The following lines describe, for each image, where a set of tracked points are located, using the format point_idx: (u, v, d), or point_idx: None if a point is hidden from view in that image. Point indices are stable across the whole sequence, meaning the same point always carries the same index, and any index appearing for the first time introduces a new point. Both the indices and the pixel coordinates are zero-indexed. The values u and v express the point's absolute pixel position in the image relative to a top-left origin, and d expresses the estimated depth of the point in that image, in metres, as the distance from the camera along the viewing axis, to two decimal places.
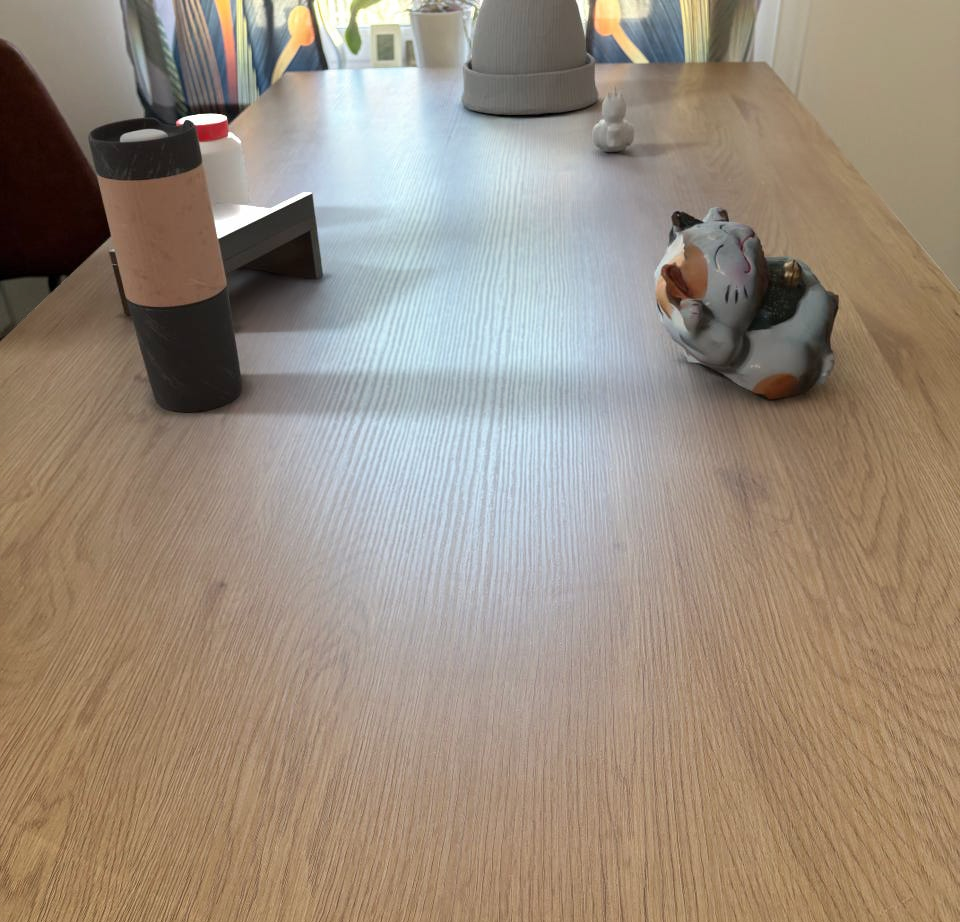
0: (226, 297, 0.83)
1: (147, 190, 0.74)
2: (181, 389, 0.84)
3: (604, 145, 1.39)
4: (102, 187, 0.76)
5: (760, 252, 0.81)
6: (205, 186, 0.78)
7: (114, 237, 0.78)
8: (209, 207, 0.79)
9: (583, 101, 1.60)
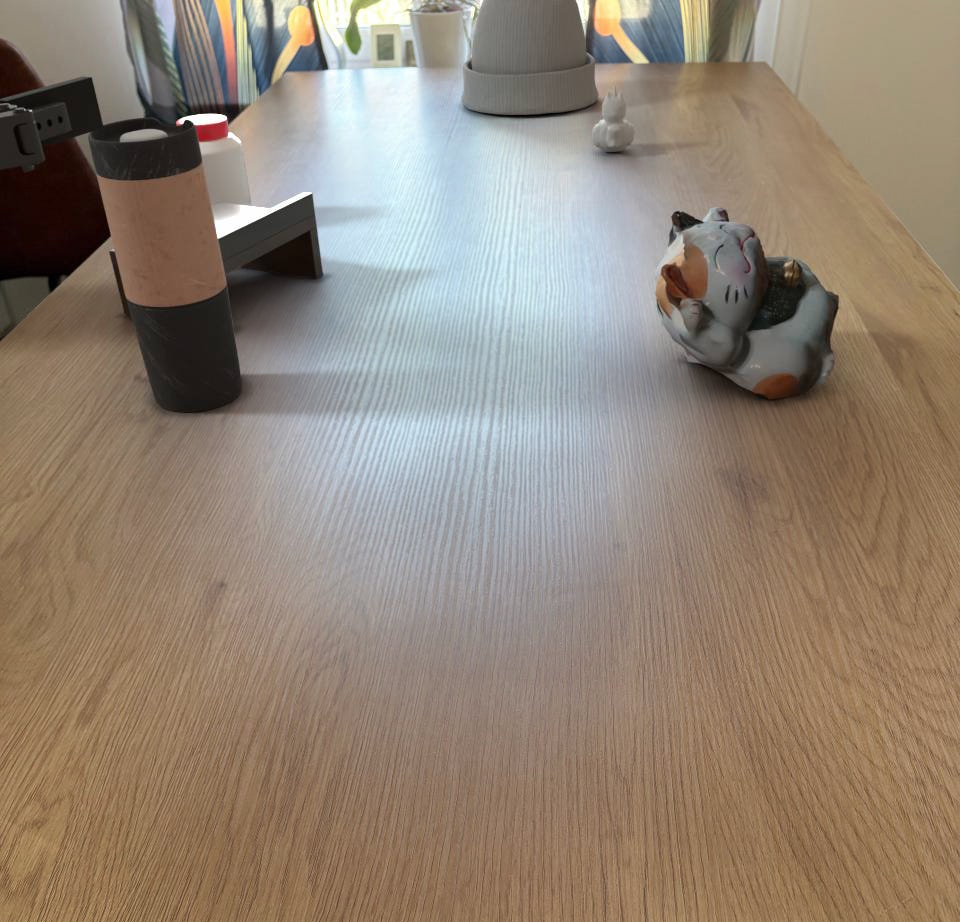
0: (226, 297, 0.83)
1: (147, 190, 0.74)
2: (181, 389, 0.84)
3: (604, 145, 1.39)
4: (102, 187, 0.76)
5: (760, 252, 0.81)
6: (205, 186, 0.78)
7: (114, 237, 0.78)
8: (209, 207, 0.79)
9: (583, 101, 1.60)
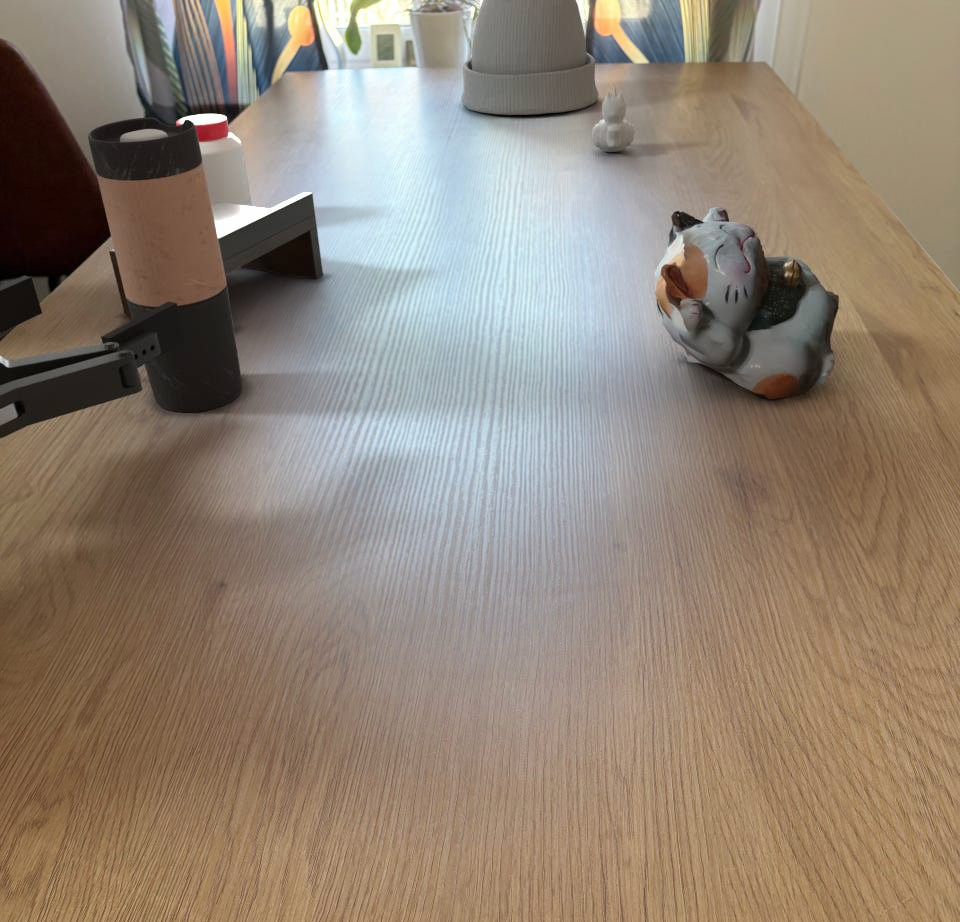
0: (226, 297, 0.83)
1: (147, 190, 0.74)
2: (181, 389, 0.84)
3: (604, 145, 1.39)
4: (102, 187, 0.76)
5: (760, 252, 0.81)
6: (205, 186, 0.78)
7: (114, 237, 0.78)
8: (209, 207, 0.79)
9: (583, 101, 1.60)
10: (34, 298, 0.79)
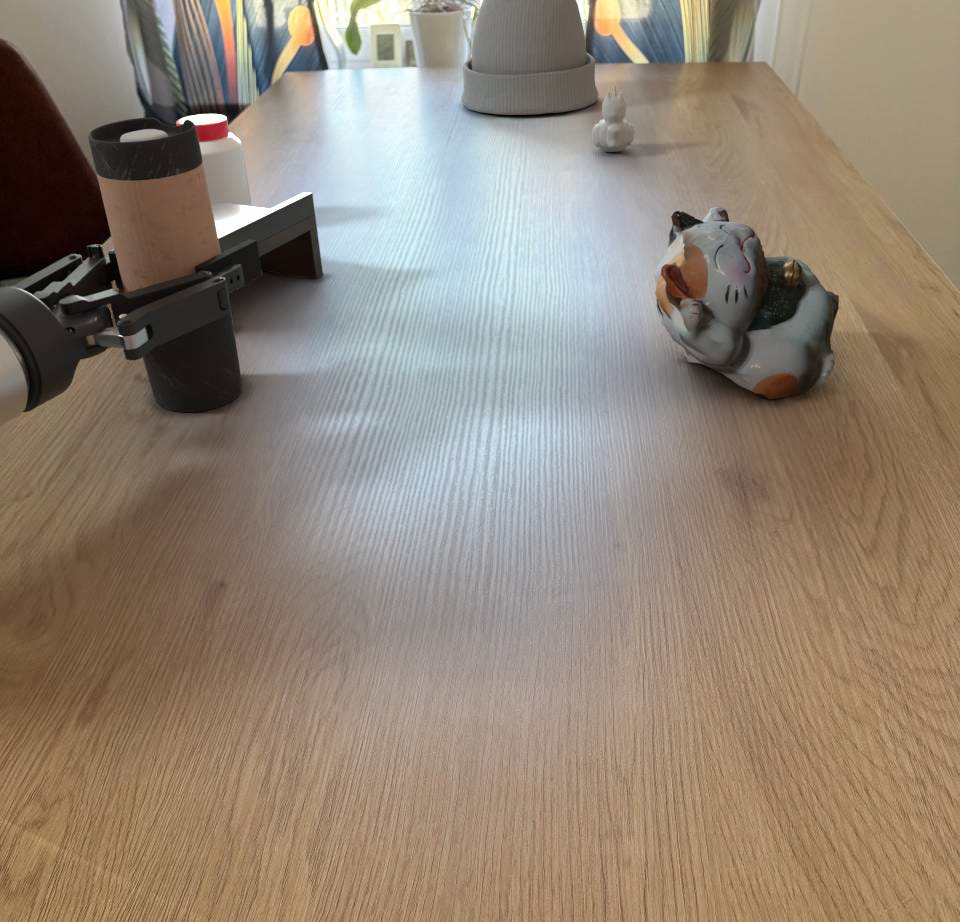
0: None
1: (147, 190, 0.74)
2: (181, 389, 0.84)
3: (604, 145, 1.39)
4: (102, 187, 0.76)
5: (760, 252, 0.81)
6: (205, 186, 0.78)
7: (114, 237, 0.78)
8: (209, 207, 0.79)
9: (583, 101, 1.60)
10: None
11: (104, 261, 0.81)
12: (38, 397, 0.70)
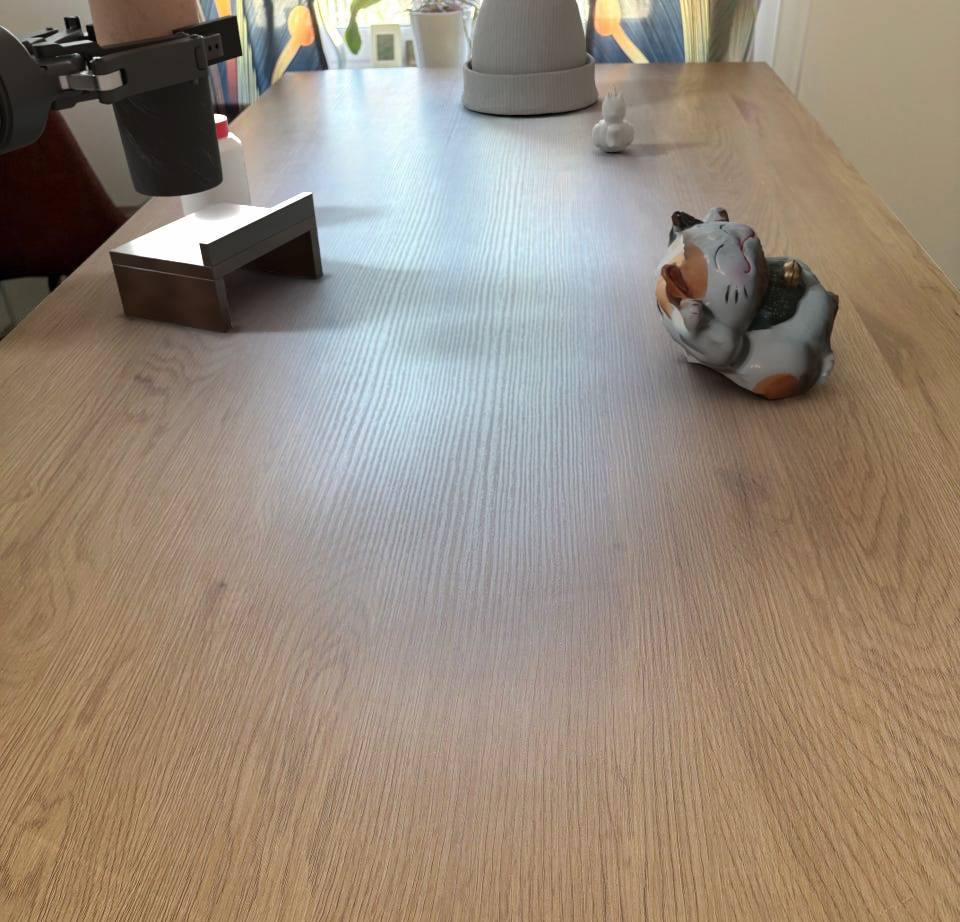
0: None
1: None
2: (160, 170, 0.83)
3: (604, 145, 1.39)
4: None
5: (760, 252, 0.81)
6: None
7: None
8: None
9: (583, 101, 1.60)
10: None
11: (81, 33, 0.80)
12: (10, 134, 0.69)
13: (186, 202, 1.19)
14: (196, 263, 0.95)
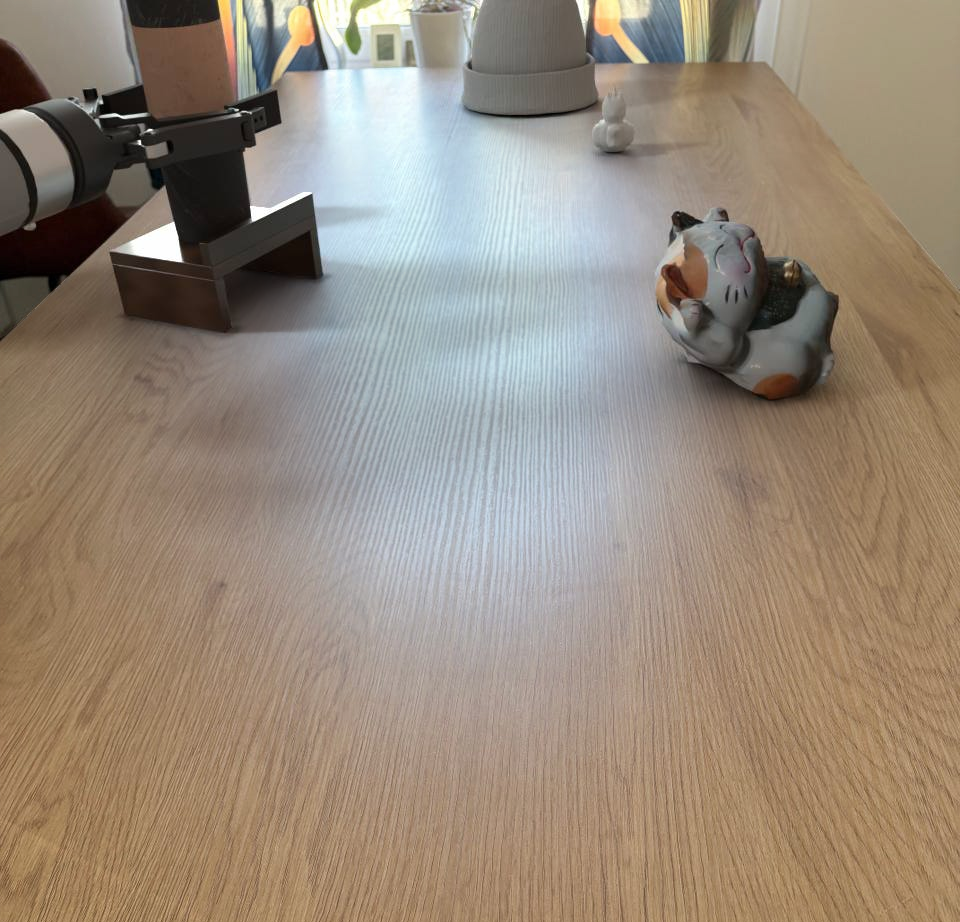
0: None
1: (175, 37, 0.88)
2: (201, 222, 0.98)
3: (604, 145, 1.39)
4: (136, 36, 0.90)
5: (760, 252, 0.81)
6: (223, 39, 0.92)
7: (145, 82, 0.92)
8: (226, 58, 0.92)
9: (583, 101, 1.60)
10: None
11: (99, 101, 0.95)
12: (82, 192, 0.83)
13: None
14: (196, 263, 0.95)
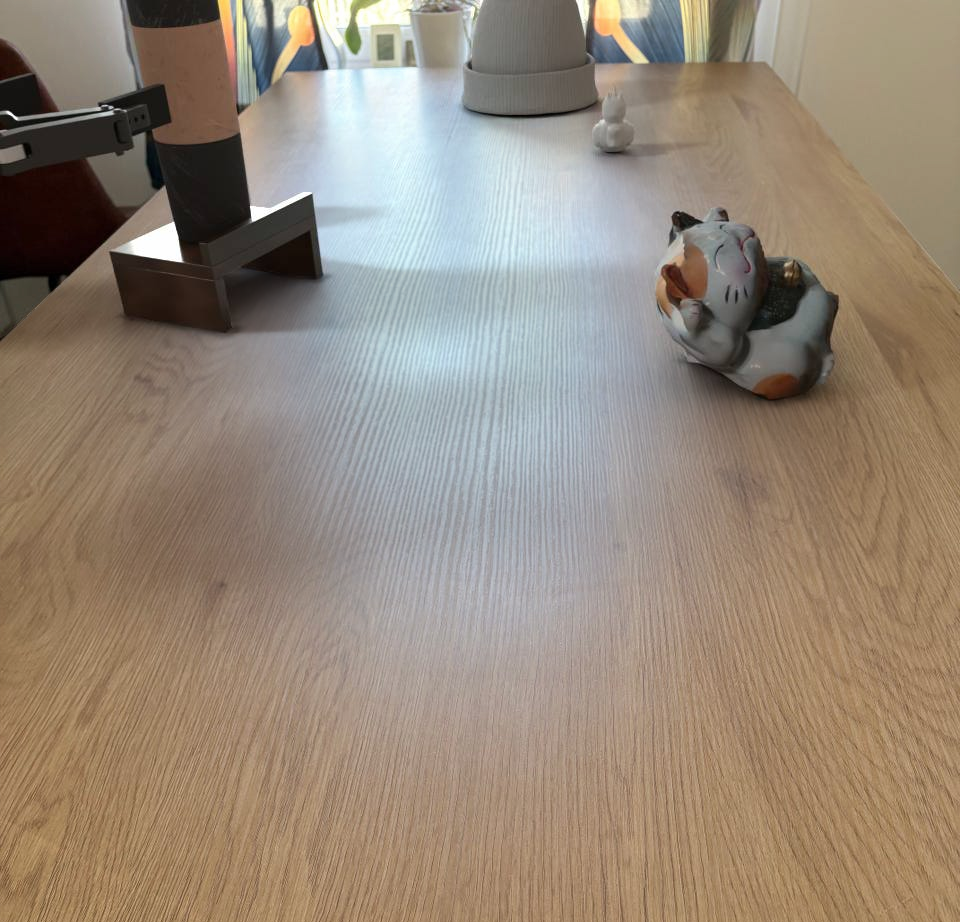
0: (240, 141, 0.97)
1: (175, 37, 0.88)
2: (201, 222, 0.98)
3: (604, 145, 1.39)
4: (136, 36, 0.90)
5: (760, 252, 0.81)
6: (223, 39, 0.92)
7: (145, 82, 0.92)
8: (226, 58, 0.92)
9: (583, 101, 1.60)
10: (37, 94, 0.88)
11: None
12: None
13: None
14: (196, 263, 0.95)
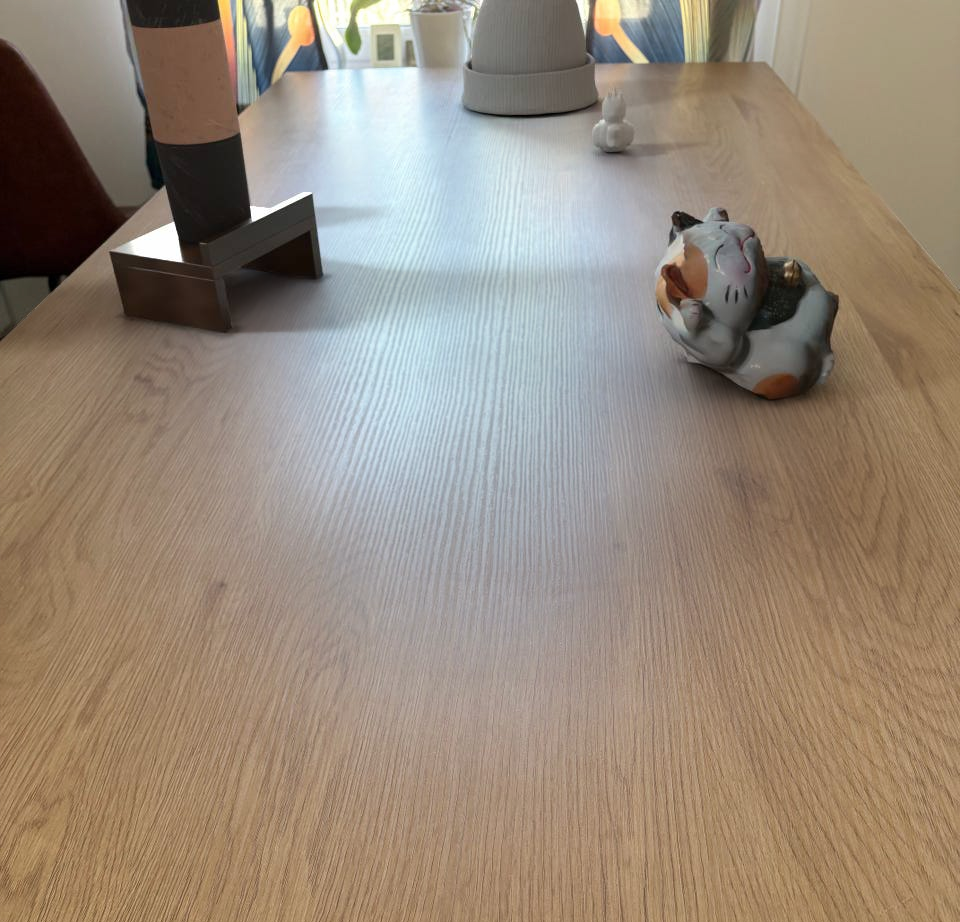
0: (240, 141, 0.97)
1: (175, 37, 0.88)
2: (201, 222, 0.98)
3: (604, 145, 1.39)
4: (136, 36, 0.90)
5: (760, 252, 0.81)
6: (223, 39, 0.92)
7: (145, 82, 0.92)
8: (226, 58, 0.92)
9: (583, 101, 1.60)
10: None
11: None
12: None
13: None
14: (196, 263, 0.95)
